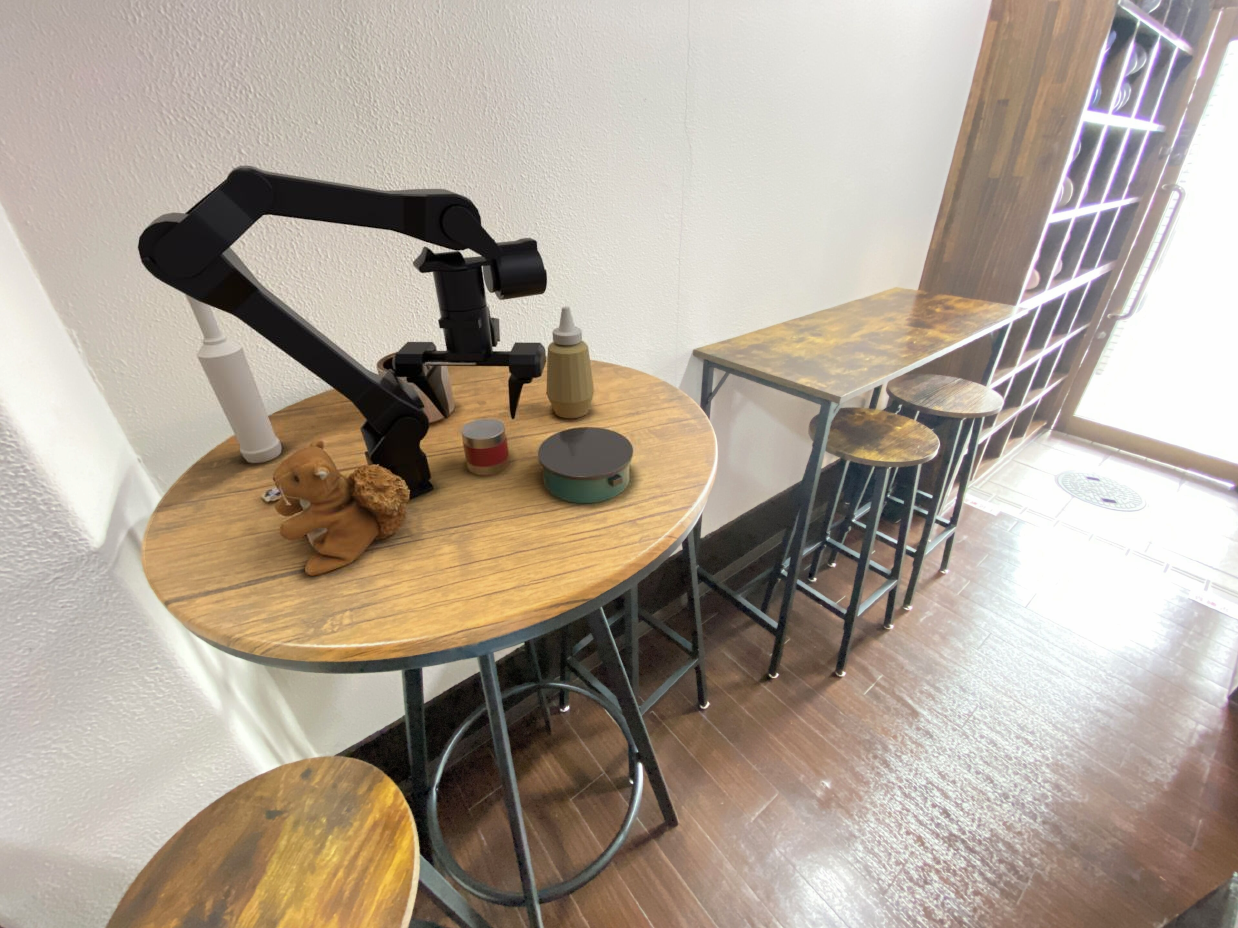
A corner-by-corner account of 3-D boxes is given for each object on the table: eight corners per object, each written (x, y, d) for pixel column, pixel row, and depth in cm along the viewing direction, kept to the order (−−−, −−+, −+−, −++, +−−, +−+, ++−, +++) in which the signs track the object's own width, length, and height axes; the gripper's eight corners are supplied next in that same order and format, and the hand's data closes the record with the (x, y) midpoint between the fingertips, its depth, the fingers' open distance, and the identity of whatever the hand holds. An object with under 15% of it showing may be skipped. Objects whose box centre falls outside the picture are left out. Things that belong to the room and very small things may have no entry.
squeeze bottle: (573, 427, 87) (567, 319, 78) (538, 413, 91) (528, 309, 82) (604, 409, 93) (602, 306, 83) (569, 397, 97) (563, 297, 87)
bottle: (266, 465, 78) (191, 292, 64) (235, 461, 79) (155, 290, 65) (291, 447, 82) (225, 281, 69) (261, 444, 83) (191, 279, 69)
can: (479, 480, 75) (473, 444, 71) (460, 462, 79) (453, 427, 75) (517, 465, 78) (513, 429, 75) (497, 448, 82) (492, 414, 78)
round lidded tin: (578, 520, 67) (576, 491, 65) (521, 472, 76) (517, 445, 74) (654, 482, 74) (655, 454, 72) (593, 443, 83) (592, 417, 81)
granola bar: (312, 476, 75) (310, 470, 75) (320, 482, 74) (317, 476, 73) (261, 498, 71) (258, 492, 70) (268, 505, 70) (265, 499, 69)
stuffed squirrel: (296, 529, 66) (256, 437, 59) (415, 501, 71) (392, 413, 63) (290, 583, 58) (243, 485, 51) (424, 548, 63) (399, 453, 56)
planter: (445, 428, 87) (433, 373, 82) (379, 427, 87) (363, 373, 82) (462, 398, 96) (453, 348, 91) (403, 398, 97) (390, 347, 91)
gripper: (547, 288, 72) (554, 393, 81) (409, 287, 72) (431, 392, 81) (535, 313, 63) (544, 429, 71) (377, 312, 63) (405, 427, 71)
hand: (480, 417), depth 74 cm, fingers open, 9 cm apart
